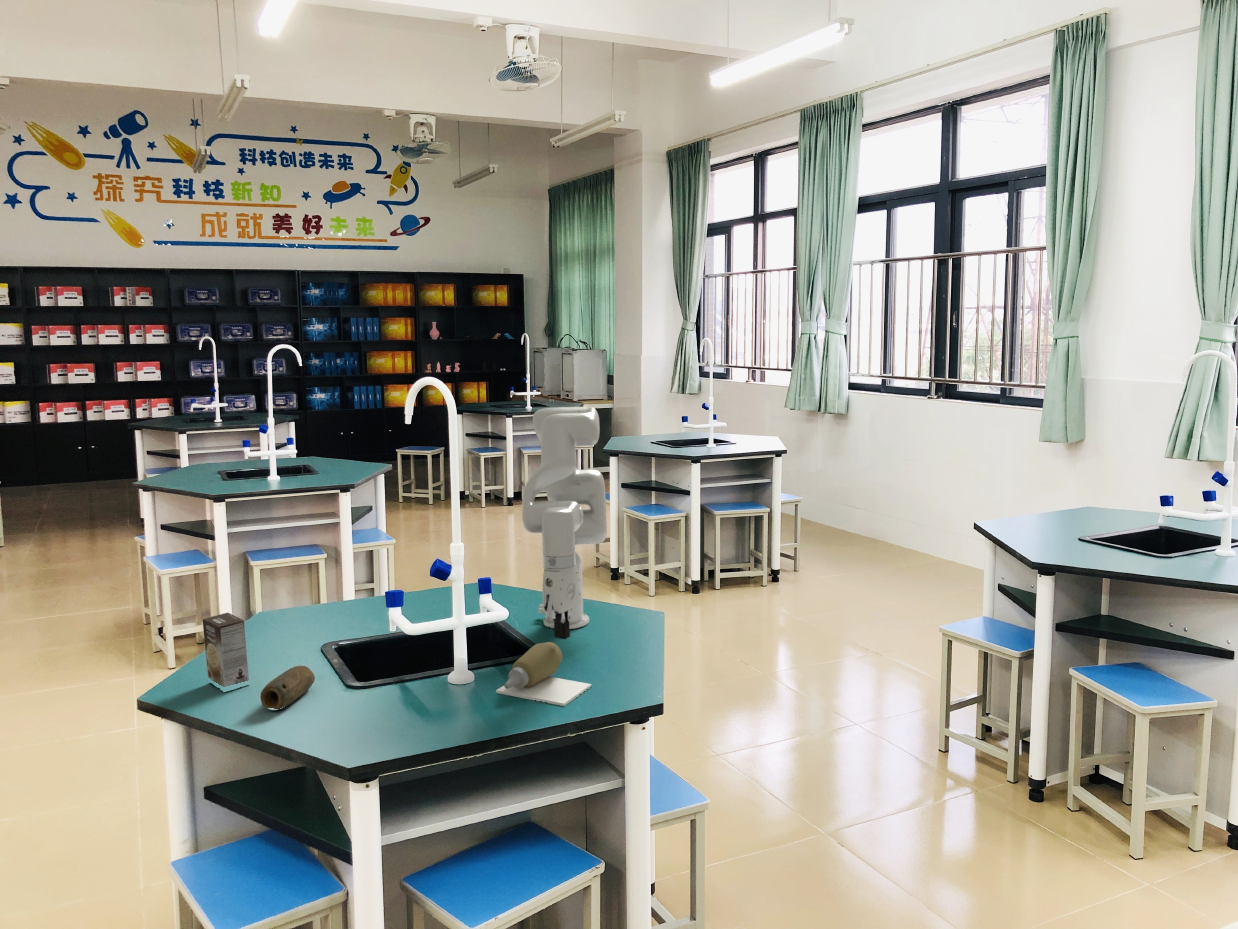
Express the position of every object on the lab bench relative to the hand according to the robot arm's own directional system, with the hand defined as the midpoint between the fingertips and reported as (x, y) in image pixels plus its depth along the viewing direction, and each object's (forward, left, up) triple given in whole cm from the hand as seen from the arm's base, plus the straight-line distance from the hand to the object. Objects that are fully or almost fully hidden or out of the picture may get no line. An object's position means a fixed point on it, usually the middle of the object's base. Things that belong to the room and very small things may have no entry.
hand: (562, 637), depth 220 cm
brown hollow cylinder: (-50, -37, -10) cm, 63 cm away
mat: (0, -8, -10) cm, 13 cm away
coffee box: (-70, -36, -10) cm, 80 cm away
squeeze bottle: (-3, +1, -5) cm, 6 cm away
